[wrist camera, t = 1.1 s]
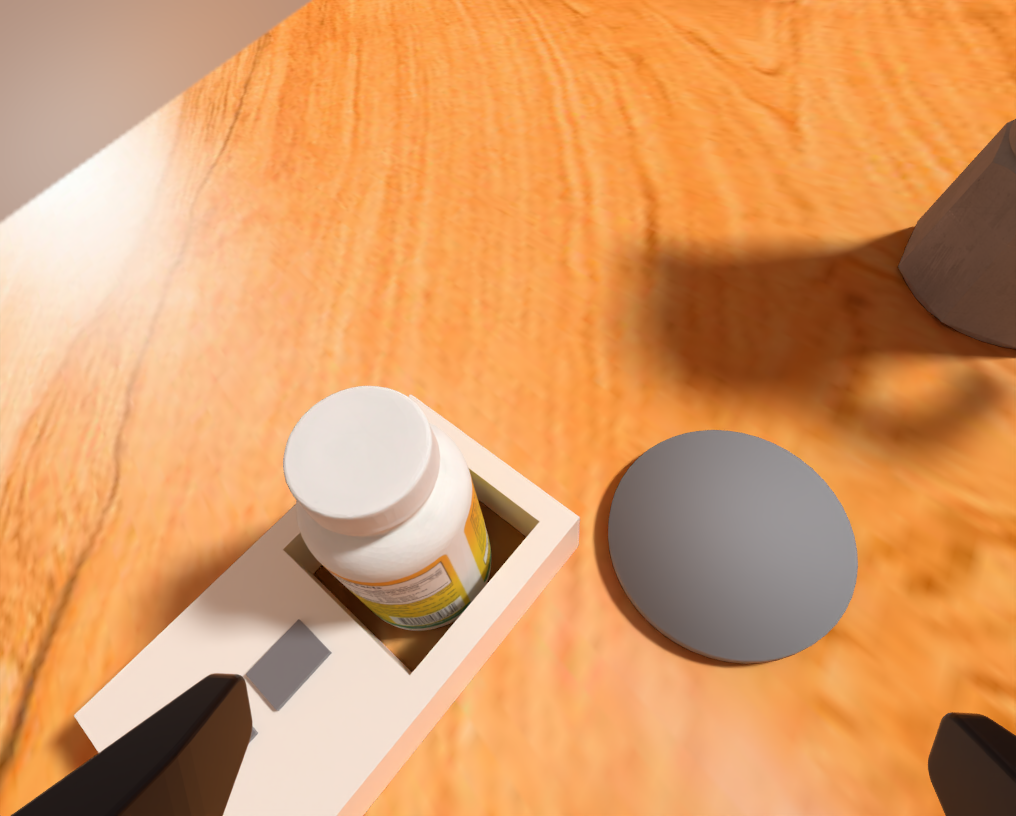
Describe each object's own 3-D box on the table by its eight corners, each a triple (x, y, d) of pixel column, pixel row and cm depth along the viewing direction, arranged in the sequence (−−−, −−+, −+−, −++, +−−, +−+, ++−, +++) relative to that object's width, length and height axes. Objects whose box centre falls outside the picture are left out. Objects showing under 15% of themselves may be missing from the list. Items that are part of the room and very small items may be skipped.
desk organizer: (274, 925, 19) (224, 949, 16) (131, 723, 22) (69, 715, 19) (578, 545, 24) (579, 515, 21) (425, 430, 27) (410, 391, 25)
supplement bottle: (437, 663, 22) (362, 591, 14) (332, 581, 24) (211, 477, 16) (521, 542, 24) (497, 420, 16) (418, 476, 26) (350, 337, 18)
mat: (777, 723, 20) (782, 721, 20) (561, 556, 24) (561, 551, 23) (892, 521, 23) (899, 515, 23) (686, 401, 27) (689, 393, 26)
